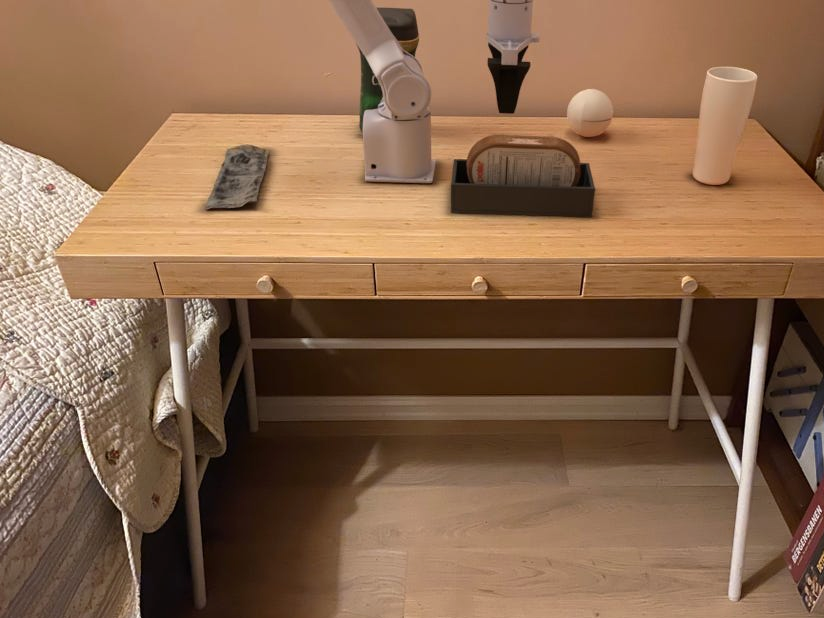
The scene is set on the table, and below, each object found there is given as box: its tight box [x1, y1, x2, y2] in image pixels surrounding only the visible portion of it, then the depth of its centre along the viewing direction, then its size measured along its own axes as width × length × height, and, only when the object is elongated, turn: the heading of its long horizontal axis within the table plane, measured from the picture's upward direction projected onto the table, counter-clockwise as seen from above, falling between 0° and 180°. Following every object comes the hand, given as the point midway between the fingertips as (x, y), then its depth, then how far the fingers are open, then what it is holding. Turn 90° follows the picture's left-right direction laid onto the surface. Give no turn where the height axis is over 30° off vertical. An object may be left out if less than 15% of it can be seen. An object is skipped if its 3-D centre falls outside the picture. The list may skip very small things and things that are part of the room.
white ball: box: [566, 88, 626, 138], centre depth 126 cm, size 10×7×7 cm
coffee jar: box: [355, 7, 420, 134], centre depth 121 cm, size 10×8×19 cm
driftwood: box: [204, 144, 270, 211], centre depth 110 cm, size 21×7×2 cm, turn 6°
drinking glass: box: [691, 66, 758, 186], centre depth 110 cm, size 7×7×15 cm
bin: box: [450, 158, 596, 218], centre depth 106 cm, size 18×8×4 cm, turn 89°
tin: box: [466, 133, 581, 187], centre depth 104 cm, size 15×3×8 cm, turn 89°
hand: (506, 103), depth 111 cm, fingers open, 7 cm apart
